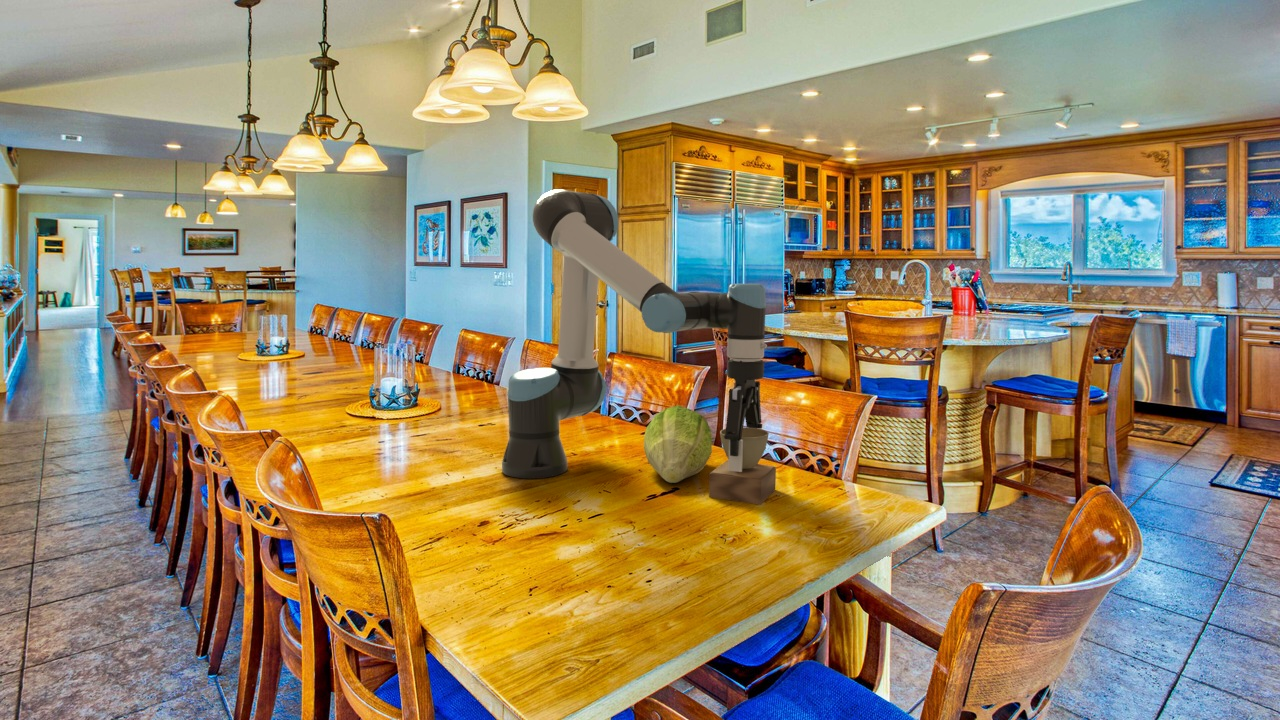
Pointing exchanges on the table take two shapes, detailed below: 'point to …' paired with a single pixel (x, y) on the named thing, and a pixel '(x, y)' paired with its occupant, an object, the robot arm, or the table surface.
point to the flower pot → (749, 445)
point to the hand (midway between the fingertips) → (743, 464)
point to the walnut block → (743, 483)
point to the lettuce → (677, 443)
